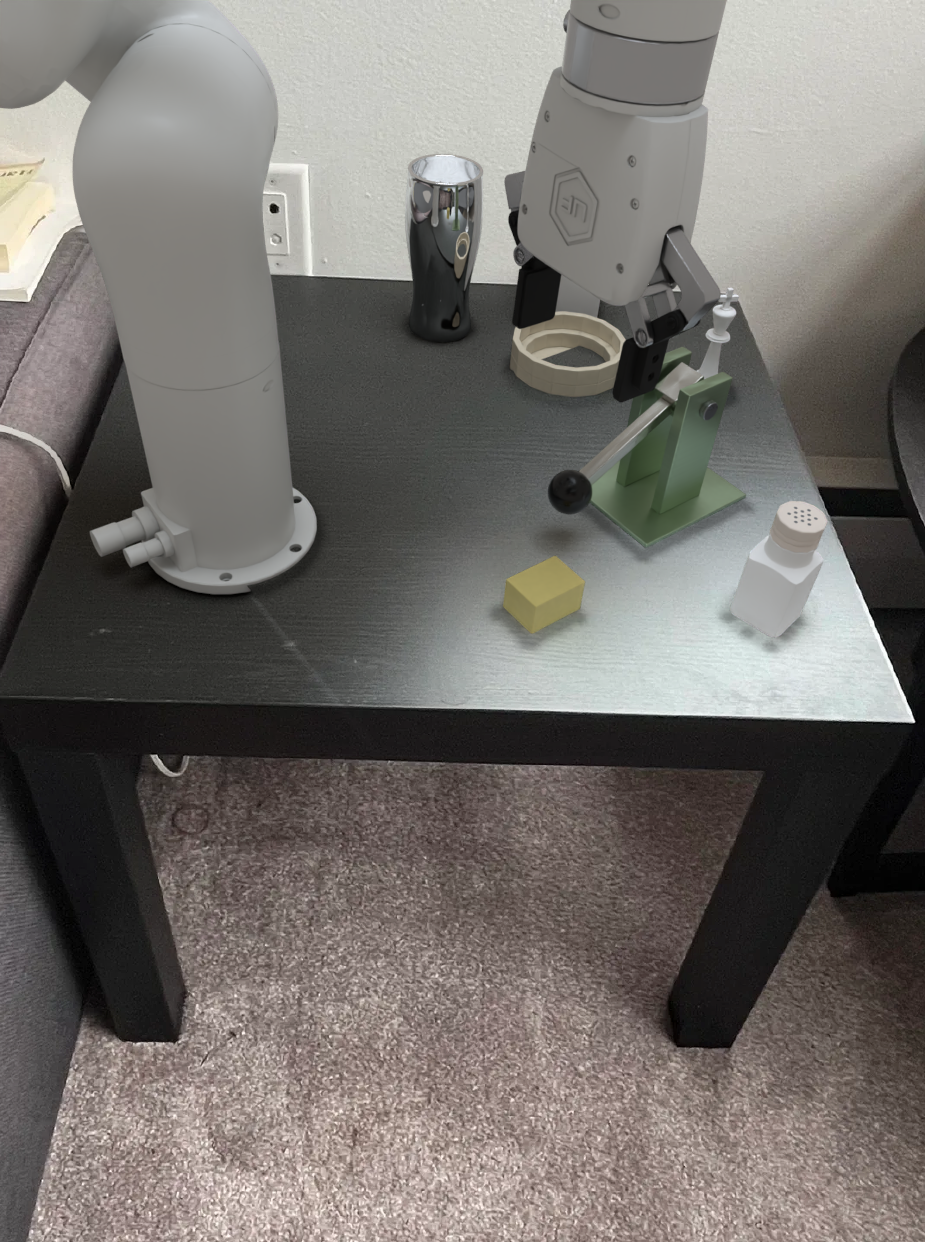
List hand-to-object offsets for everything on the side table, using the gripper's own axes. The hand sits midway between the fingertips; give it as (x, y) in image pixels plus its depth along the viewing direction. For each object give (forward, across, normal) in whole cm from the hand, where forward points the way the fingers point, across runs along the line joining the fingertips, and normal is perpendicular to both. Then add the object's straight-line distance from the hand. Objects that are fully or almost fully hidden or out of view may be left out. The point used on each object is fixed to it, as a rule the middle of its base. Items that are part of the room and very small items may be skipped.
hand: (581, 357), depth 62 cm
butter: (+16, +6, -5) cm, 18 cm away
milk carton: (+16, -26, +24) cm, 39 cm away
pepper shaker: (+16, +15, +8) cm, 23 cm away
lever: (+10, +1, +6) cm, 12 cm away
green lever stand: (+16, +1, +11) cm, 19 cm away
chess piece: (+16, -8, +26) cm, 31 cm away
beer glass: (+16, -30, +12) cm, 36 cm away
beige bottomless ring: (+16, -17, +17) cm, 29 cm away
